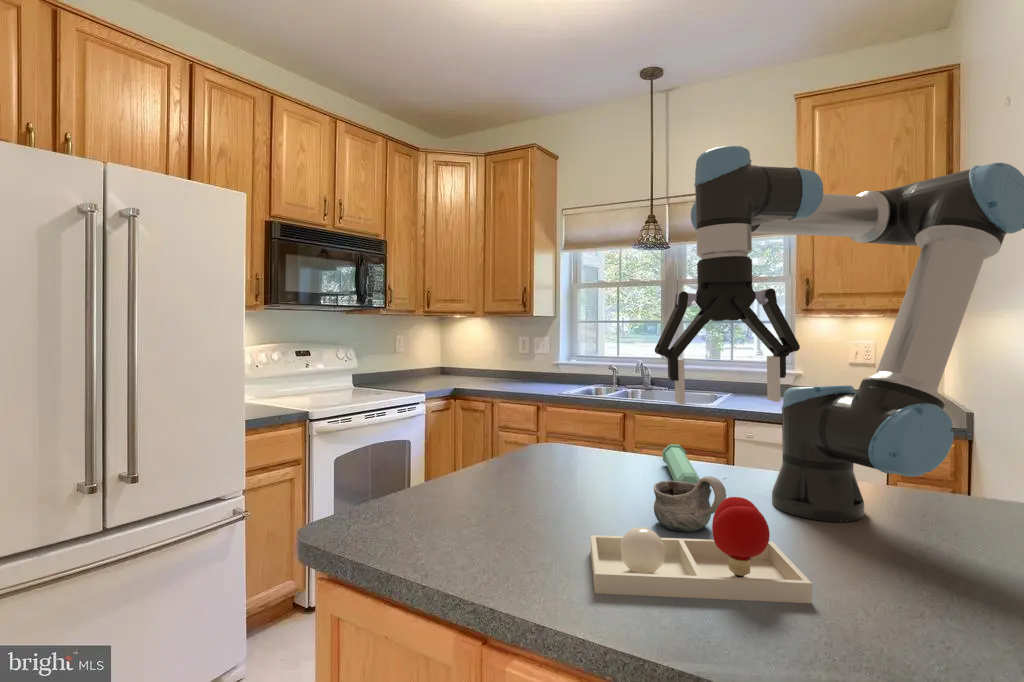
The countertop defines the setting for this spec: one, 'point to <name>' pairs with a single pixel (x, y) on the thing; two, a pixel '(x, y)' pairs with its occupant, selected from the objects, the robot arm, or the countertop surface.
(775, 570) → the tray
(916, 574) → the countertop surface
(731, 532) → the red rounded piece
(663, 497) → the mug
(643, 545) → the egg
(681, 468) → the green octagonal rod
